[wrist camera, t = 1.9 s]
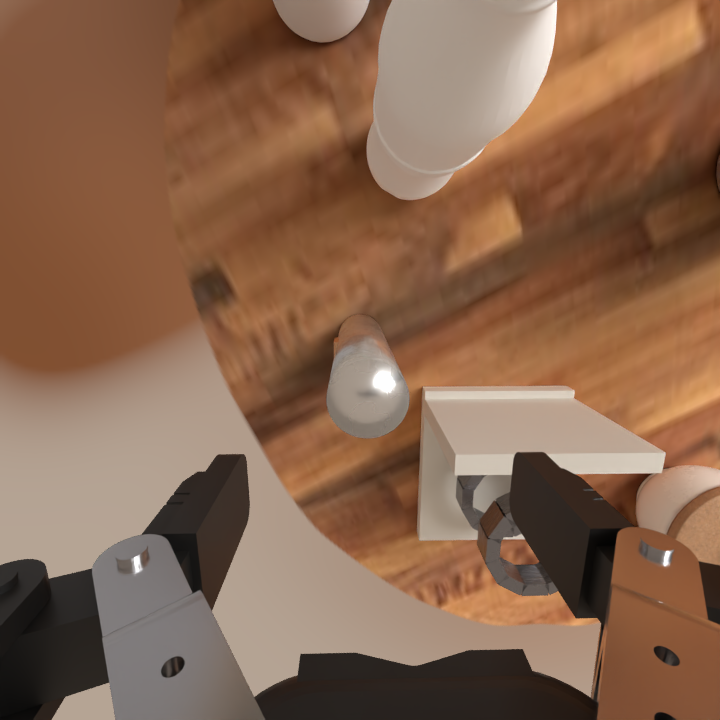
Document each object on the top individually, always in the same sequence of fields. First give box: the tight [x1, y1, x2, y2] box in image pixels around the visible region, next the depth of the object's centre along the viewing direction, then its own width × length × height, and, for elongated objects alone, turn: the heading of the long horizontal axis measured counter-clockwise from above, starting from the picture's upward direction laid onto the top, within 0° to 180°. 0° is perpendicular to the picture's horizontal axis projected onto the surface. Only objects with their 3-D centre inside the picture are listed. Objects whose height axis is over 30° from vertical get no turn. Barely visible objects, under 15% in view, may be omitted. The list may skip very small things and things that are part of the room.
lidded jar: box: [636, 465, 720, 565], centre depth 36 cm, size 11×11×9 cm
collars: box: [456, 475, 558, 596], centre depth 32 cm, size 8×11×8 cm
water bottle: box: [367, 0, 557, 200], centre depth 21 cm, size 7×7×25 cm
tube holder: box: [417, 386, 666, 541], centre depth 33 cm, size 14×16×12 cm
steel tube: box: [326, 314, 409, 438], centre depth 27 cm, size 4×4×18 cm
